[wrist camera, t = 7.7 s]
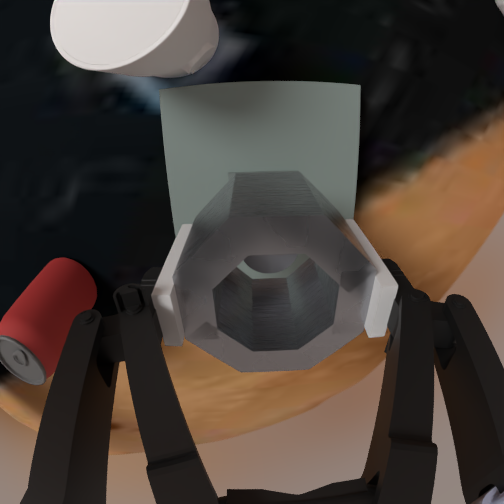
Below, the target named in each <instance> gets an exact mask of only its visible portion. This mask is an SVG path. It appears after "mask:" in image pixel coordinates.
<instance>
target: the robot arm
mask: <svg viewBox="0 0 504 504" xmlns="http://www.w3.org/2000/svg"><path fill="white" fill-rule="evenodd" d="M345 221H346V222H347V224H348V225H349V227H350V228H351V230H352V231H353V233H354V234H355V236H356V237H357V239H358V240H359V242H360V244H361V245H362V247H363V248H364V250H365V251H366V253H367V255H368V256H369V258H370V259H371V261H372V263H373V264H374V266H375V268H376V269H377V272H376V276H375V280H374V285H373V290H372V295H371V299H370V304H369V308H368V313H367V317H366V321H365V325H364V327H365V330H366V332H367V335H368V337H369V338H373V337H381V336H385V332H386V329H387V326H388V328H389V330H390V332H391V333H390V336H389V339H388V342H387V345H386V348H385V351H384V352H385V353H387V355H386V363H385V370H384V377H383V383H382V389H381V395H380V401H379V406H378V412H377V417H376V422H375V427H374V431H373V436H372V441H371V445H370V449H369V453H368V458H367V462H366V465H365V469H364V472H363V474H362V476H361V478H360V479H355V480H349V481H343V482H336V483H332V484H329V485H326V486H324V487H321V488H318V489H315V490H312V491H309V492H307V493H303V494H300V495H294V494H287V493H281V492H275V491H269V490H263V489H227V496H223V497H219V498H218V496H217V494H216V492H215V490H214V488H213V486H212V483H211V481H210V479H209V477H208V475H207V472H206V470H205V468H204V465H203V463H202V461H201V458H200V456H199V453H198V451H197V448H196V446H195V443H194V441H193V438H192V436H191V433H190V430H189V428H188V425H187V423H186V420H185V417H184V414H183V412H182V409H181V406H180V403H179V400H178V398H177V395H176V392H175V389H174V386H173V383H172V380H171V377H170V374H169V371H168V367H167V364H166V361H165V358H164V354H163V351H162V348H161V345H160V344H161V341H162V337H163V340H164V343H165V346H182V344H183V340H184V335H185V332H184V328H183V324H182V319H181V315H180V310H179V305H178V301H177V296H176V291H175V286H174V283H173V278H172V276H173V274H174V271H175V268H176V266H177V263H178V260H179V258H180V255H181V252H182V250H183V247H184V245H185V242H186V240H187V237H188V235H189V232H190V229H191V227H192V224H182V226H181V228H180V230H179V233H178V235H177V237H176V239H175V241H174V244H173V246H172V248H171V250H170V252H169V255H168V257H167V259H166V261H165V264H164V266H163V267H152V268H151V269H149V270H148V271H147V272H146V273H145V274H144V276H143V278H142V281H141V282H140V284H135V283H132V284H126V285H123V286H121V287H120V288H118V289H117V290H116V291H115V292H114V294H113V299H114V302H115V305H116V307H117V310H118V313H119V314H116V315H112V316H107V317H102V316H101V314H100V312H99V311H97V310H93V309H89V310H85V311H83V312H81V313H79V314H78V315H77V316H76V317H75V318H74V320H73V322H72V325H71V327H70V330H69V333H68V335H67V338H66V341H65V344H64V346H63V349H62V352H61V355H60V358H59V361H58V364H57V367H56V370H55V373H54V377H53V380H52V383H51V386H50V390H49V393H48V397H47V400H46V404H45V408H44V411H43V415H42V419H41V423H40V427H39V432H38V436H37V440H36V445H35V450H34V455H33V460H32V465H31V471H30V477H29V483H28V489H27V491H26V493H25V495H24V497H23V499H22V500H21V502H20V504H106V484H107V465H108V451H109V440H110V429H111V420H112V411H113V403H114V395H115V388H116V381H117V374H118V368H119V362H121V361H125V363H126V369H127V374H128V380H129V385H130V390H131V395H132V400H133V405H134V409H135V414H136V418H137V422H138V427H139V431H140V435H141V439H142V442H143V446H144V450H145V453H146V457H147V461H148V465H147V467H146V470H147V475H148V479H149V482H150V485H151V488H152V491H153V494H154V498H155V501H156V503H157V504H431V500H432V493H433V487H434V480H435V472H436V464H437V455H438V450H437V449H438V448H437V445H436V444H434V443H432V426H433V408H434V365H435V368H436V371H437V375H438V378H439V382H440V385H441V389H442V392H443V396H444V401H445V405H446V409H447V413H448V417H449V421H450V426H451V430H452V435H453V440H454V445H455V450H456V455H457V461H458V467H459V474H460V480H461V486H462V491H463V495H464V498H465V502H466V504H504V368H503V366H502V363H501V362H500V359H499V357H498V355H497V353H496V351H495V348H494V346H493V344H492V342H491V340H490V338H489V336H488V334H487V332H486V330H485V328H484V326H483V324H482V323H481V321H480V319H479V317H478V315H477V313H476V311H475V309H474V308H473V306H472V304H471V302H470V301H469V300H468V299H467V298H465V297H464V296H461V295H457V294H452V295H449V296H448V297H447V299H446V301H445V303H440V302H433V301H430V298H429V296H428V295H427V294H426V293H424V292H423V291H421V290H417V289H414V288H413V287H412V285H411V284H410V282H409V281H408V279H407V278H406V276H404V274H403V272H402V271H401V269H400V268H399V266H398V265H397V264H396V263H395V262H393V261H392V260H391V259H381V258H380V257H379V255H378V254H377V252H376V251H375V249H374V248H373V246H372V245H371V243H370V242H369V241H368V239H367V238H366V236H365V235H364V233H363V232H362V231H361V229H360V228H359V226H358V225H357V224H356V222H355V221H354V219H345Z"/></svg>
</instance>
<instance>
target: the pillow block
mask: <svg viewBox="0 0 504 504" xmlns="http://www.w3.org/2000/svg"><path fill="white" fill-rule="evenodd" d="M159 94H160V107H161V119H162V130H163V141H164V150H165V160H166V168H167V177H168V185H169V193H170V200H171V208H172V215H173V222H174V229H175V235H176V237H177V235H178V233H179V230H180V228H181V226H182V224H193V222H194V220H195V217H196V216H197V215H198V214H199V213H200V211H201V210H202V209H203V208H204V207H205V206H206V205H207V204H208V203H209V202H210V200H211V199H212V198H213V197H214V196H215V195H216V194H217V193H218V192H219V191H220V190H221V189H222V188H223V186H224V185H225V184H226V183H227V182H228V181H229V180H230V179H231V178H232V177H233V176H234V175H235V174H236V173H259V172H301V173H302V174H303V175H304V176H305V177H306V178H307V179H308V180H309V181H310V182H311V183H312V184H313V185H314V186H315V187H316V188H317V189H318V190H319V191H320V192H321V193H322V194H323V195H324V196H325V197H326V199H327V200H328V201H329V202H330V203H331V204H332V205H333V206H334V207H335V208H336V209H337V210H338V211H339V212H340V213H341V215H342V216H343V218H344V219H353V218H354V207H355V196H356V184H357V170H358V154H359V132H360V85H353V84H342V83H327V82H306V81H250V82H229V83H214V84H202V85H192V86H183V87H175V88H167V89H160V90H159ZM308 258H310V257H308V256H307V255H306V254H284V255H253V256H248V257H246V258H245V259H244V260H243V261H242V262H241V263H240V264H239V265H238V266H237V267H238V268H239V269H240V270H241V271H243V272H244V273H245V274H247V275H248V276H249V277H250V278H252V279H261V278H286V277H288V276H289V275H290V274H291V273H292V272H293V271H295V270H296V269H297V268H298V267H299V266H300V265H302V264H303V263H304V262H305V261H306V260H307V259H308Z"/></svg>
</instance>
